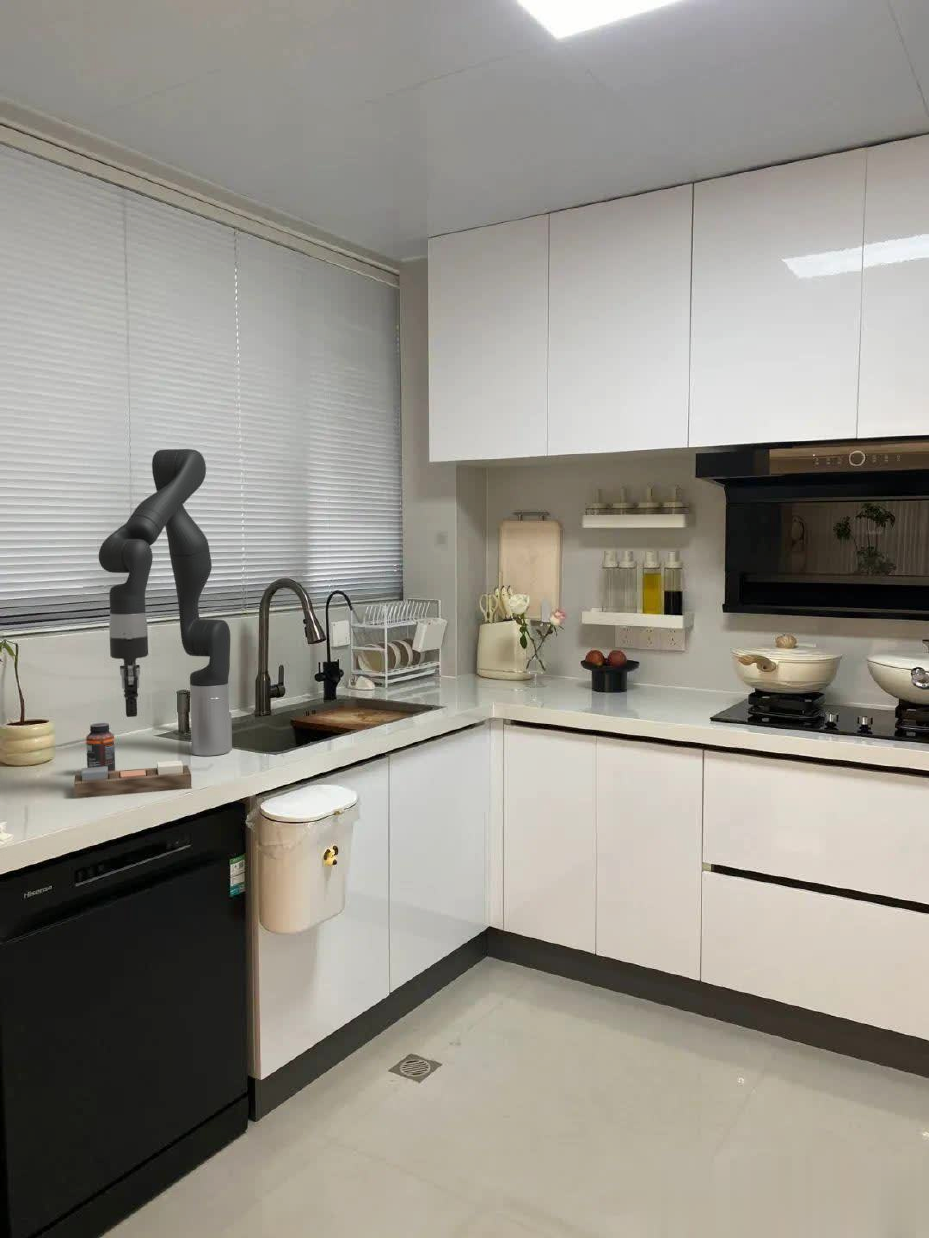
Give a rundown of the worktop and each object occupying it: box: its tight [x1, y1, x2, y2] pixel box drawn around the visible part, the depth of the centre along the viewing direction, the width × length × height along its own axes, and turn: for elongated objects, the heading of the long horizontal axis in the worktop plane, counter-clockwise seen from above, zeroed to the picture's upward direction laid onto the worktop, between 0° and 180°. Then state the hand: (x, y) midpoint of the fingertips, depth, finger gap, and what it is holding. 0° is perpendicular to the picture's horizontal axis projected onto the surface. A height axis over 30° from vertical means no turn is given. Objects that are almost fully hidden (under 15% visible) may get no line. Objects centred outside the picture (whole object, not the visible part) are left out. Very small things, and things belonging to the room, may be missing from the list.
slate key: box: [81, 766, 108, 781], centre depth 198 cm, size 5×5×2 cm
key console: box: [73, 764, 192, 799], centre depth 201 cm, size 23×9×3 cm, turn 111°
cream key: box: [156, 760, 184, 775], centre depth 204 cm, size 5×5×2 cm
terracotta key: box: [120, 769, 146, 778], centre depth 201 cm, size 5×5×2 cm
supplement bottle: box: [85, 722, 116, 771], centre depth 214 cm, size 6×6×11 cm
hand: (131, 716), depth 200 cm, fingers closed
